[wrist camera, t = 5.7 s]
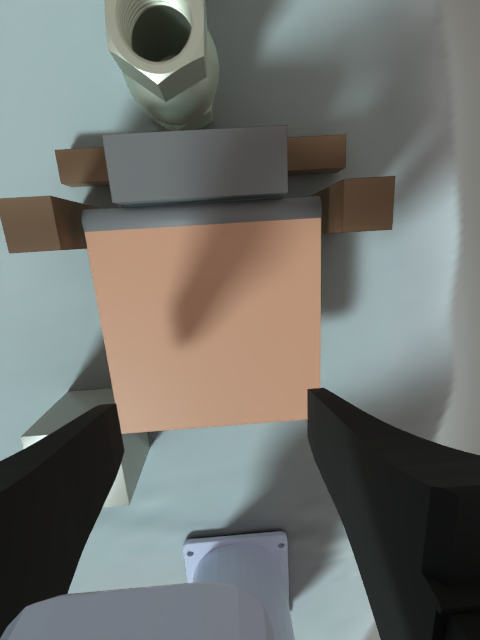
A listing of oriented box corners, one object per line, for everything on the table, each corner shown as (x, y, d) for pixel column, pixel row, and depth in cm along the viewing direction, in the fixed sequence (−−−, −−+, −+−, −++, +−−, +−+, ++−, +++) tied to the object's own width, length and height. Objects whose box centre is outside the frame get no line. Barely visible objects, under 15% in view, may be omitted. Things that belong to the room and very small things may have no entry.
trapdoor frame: (336, 233, 19) (392, 229, 13) (83, 248, 18) (9, 253, 12) (338, 141, 18) (400, 86, 11) (66, 156, 17) (-26, 107, 11)
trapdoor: (312, 403, 17) (323, 424, 15) (129, 417, 17) (117, 440, 15) (311, 139, 14) (325, 123, 12) (85, 151, 14) (61, 136, 12)
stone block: (150, 447, 22) (129, 505, 17) (82, 452, 22) (41, 512, 17) (140, 385, 21) (114, 429, 16) (68, 391, 21) (20, 437, 16)
